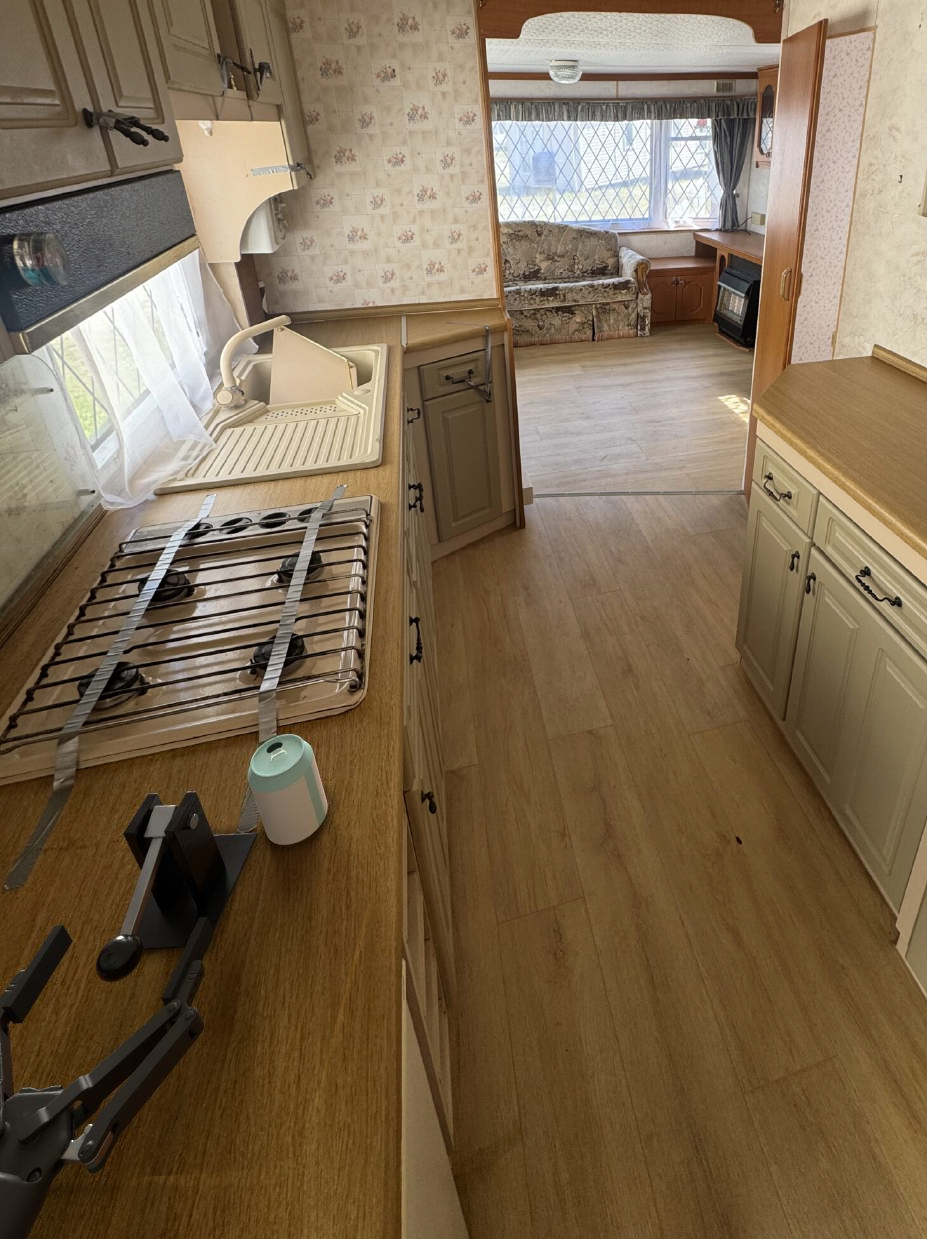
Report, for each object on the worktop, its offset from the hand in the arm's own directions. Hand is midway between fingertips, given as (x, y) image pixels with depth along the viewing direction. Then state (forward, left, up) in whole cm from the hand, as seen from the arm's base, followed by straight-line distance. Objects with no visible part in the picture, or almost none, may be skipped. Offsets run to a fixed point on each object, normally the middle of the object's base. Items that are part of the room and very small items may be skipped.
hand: (136, 928), depth 64 cm
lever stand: (-2, +7, -7) cm, 10 cm away
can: (+3, +17, -8) cm, 19 cm away
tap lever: (-1, +3, +1) cm, 3 cm away
